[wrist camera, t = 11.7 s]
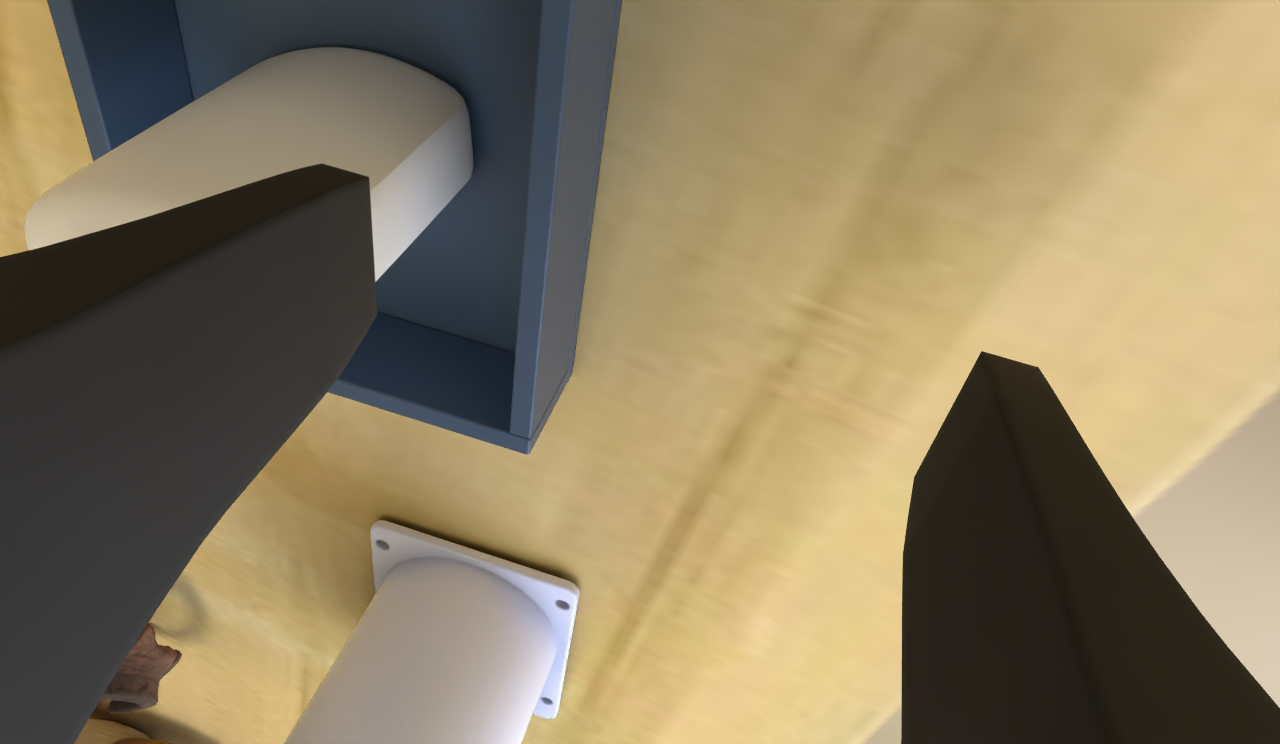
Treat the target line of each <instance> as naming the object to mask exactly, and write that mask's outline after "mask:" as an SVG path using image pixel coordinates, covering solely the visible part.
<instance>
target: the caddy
mask: <svg viewBox="0 0 1280 744" xmlns="http://www.w3.org/2000/svg"><path fill="white" fill-rule="evenodd" d="M47 1H48V5H49V8H50V12H51V15H52V19H53V22H54V26H55V29H56V33H57V36H58V40H59V43H60V47H61V50H62V54H63V57H64V61H65V64H66V67H67V71H68V74H69V78H70V81H71V85H72V88H73V92H74V95H75V99H76V102H77V106H78V109H79V113H80V116H81V120H82V123H83V127H84V130H85V134H86V137H87V141H88V144H89V148H90V151H91V155H92V158H93V161H95V160H97V159H98V158H100V157H102V156H103V155H105V154H107V153H108V152H110V151H112V150H113V149H115V148H117V147H118V146H120V145H122V144H123V143H125V142H127V141H128V140H130V139H132V138H133V137H135V136H137V135H138V134H140V133H142V132H143V131H145V130H147V129H148V128H150V127H152V126H153V125H155V124H157V123H158V122H160V121H161V120H163V119H165V118H167V117H168V116H170V115H172V114H173V113H175V112H177V111H178V110H180V109H182V108H183V107H185V106H187V105H188V104H190V103H192V102H193V101H195V100H197V99H199V98H200V97H202V96H204V95H205V94H207V93H209V92H210V91H212V90H214V89H215V88H217V87H219V86H220V85H222V84H224V83H225V82H227V81H229V80H231V79H232V78H234V77H236V76H237V75H239V74H241V73H242V72H244V71H246V70H247V69H249V68H251V67H253V66H254V65H256V64H258V63H260V62H262V61H264V60H267V59H269V58H272V57H275V56H278V55H281V54H284V53H288V52H292V51H297V50H303V49H309V48H320V47H340V48H351V49H359V50H364V51H370V52H374V53H378V54H382V55H385V56H388V57H392V58H395V59H397V60H400V61H403V62H405V63H408V64H410V65H412V66H415V67H417V68H419V69H421V70H423V71H425V72H427V73H429V74H431V75H433V76H435V77H437V78H439V79H440V80H442V81H444V82H445V83H447V84H448V85H450V86H451V87H453V88H455V89H456V90H457V92H458V93H459V94H460V95H461V96H462V97H463V98H464V100H465V103H466V105H467V108H468V111H469V117H470V125H471V137H472V149H473V171H472V175H471V178H470V179H469V181H468V182H467V183H466V184H465V185H464V186H463V187H462V189H461V190H460V191H459V192H458V193H457V194H456V195H455V196H454V197H453V198H452V200H451V201H450V202H449V203H448V204H447V205H446V206H445V207H444V208H443V209H442V211H441V212H440V213H439V214H438V215H437V216H436V217H435V218H434V219H433V220H432V221H431V223H430V224H429V225H428V226H427V227H426V228H425V229H424V230H423V231H422V232H421V233H420V235H419V236H418V237H417V238H416V239H415V240H414V241H413V242H412V243H411V244H410V245H409V247H408V248H407V249H406V250H405V251H404V252H403V253H402V254H401V255H400V256H399V257H398V258H397V260H396V261H395V262H394V263H393V264H392V265H391V266H390V267H389V268H388V269H387V270H386V271H385V272H384V274H383V275H382V276H381V277H380V278H379V279H378V280H377V281H376V282H375V284H376V300H377V316H376V318H375V320H374V321H373V323H372V325H371V326H370V328H369V330H368V331H367V333H366V335H365V336H364V338H363V340H362V342H361V343H360V345H359V347H358V348H357V350H356V352H355V353H354V355H353V356H352V358H351V359H350V361H349V362H348V364H347V365H346V367H345V369H344V370H343V372H342V373H341V375H340V376H339V378H338V379H337V380H336V382H335V383H334V384H333V385H332V387H331V388H330V389H329V390H328V392H329V393H333V394H336V395H339V396H342V397H345V398H349V399H352V400H355V401H358V402H361V403H364V404H368V405H371V406H374V407H377V408H380V409H383V410H387V411H390V412H393V413H396V414H399V415H403V416H406V417H409V418H412V419H415V420H418V421H422V422H425V423H428V424H431V425H434V426H438V427H441V428H444V429H447V430H450V431H453V432H457V433H460V434H463V435H466V436H469V437H473V438H476V439H479V440H482V441H485V442H488V443H492V444H495V445H498V446H501V447H504V448H508V449H511V450H514V451H517V452H520V453H523V454H529V453H530V452H531V450H532V448H533V446H534V444H535V442H536V441H537V439H538V437H539V435H540V433H541V431H542V429H543V427H544V425H545V423H546V422H547V420H548V418H549V416H550V414H551V412H552V410H553V408H554V406H555V405H556V403H557V401H558V399H559V397H560V395H561V393H562V391H563V389H564V388H565V386H566V383H567V382H568V380H569V378H570V377H571V375H572V371H573V363H574V356H575V348H576V341H577V333H578V326H579V318H580V311H581V303H582V296H583V288H584V281H585V273H586V266H587V258H588V251H589V244H590V236H591V229H592V221H593V214H594V206H595V199H596V191H597V184H598V176H599V169H600V161H601V154H602V146H603V139H604V131H605V124H606V117H607V109H608V102H609V94H610V87H611V79H612V72H613V64H614V57H615V49H616V42H617V34H618V27H619V19H620V12H621V4H622V0H47Z"/></svg>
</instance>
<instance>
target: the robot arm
mask: <svg viewBox="0 0 1280 744" xmlns="http://www.w3.org/2000/svg"><path fill="white" fill-rule="evenodd" d="M376 316H377V300H376V284H375V267H374V250H373V233H372V216H371V199H370V182H369V177H368V176H364V175H361V174H357V173H354V172H350V171H347V170H343V169H340V168H336V167H333V166H329V165H326V164H322V163H321V164H317V165H312V166H308V167H303V168H300V169H296V170H292V171H289V172H285V173H282V174H278V175H275V176H272V177H269V178H265V179H262V180H259V181H256V182H253V183H250V184H247V185H244V186H240V187H237V188H234V189H231V190H228V191H225V192H222V193H219V194H216V195H213V196H210V197H207V198H204V199H201V200H198V201H195V202H192V203H188V204H185V205H182V206H179V207H176V208H173V209H170V210H167V211H164V212H161V213H158V214H155V215H152V216H148V217H145V218H142V219H139V220H135V221H132V222H128V223H125V224H121V225H118V226H114V227H111V228H107V229H104V230H100V231H97V232H93V233H90V234H86V235H83V236H80V237H76V238H73V239H69V240H66V241H62V242H59V243H55V244H52V245H48V246H45V247H41V248H37V249H33V250H29V251H25V252H21V253H17V254H13V255H9V256H4V257H0V744H74V743H75V741H76V740H77V738H78V736H79V735H80V733H81V731H82V729H83V728H84V726H85V724H86V723H87V721H88V719H89V718H90V716H91V714H92V712H93V711H94V709H95V707H96V706H97V704H98V702H99V701H100V699H101V697H102V695H103V694H104V692H105V690H106V689H107V687H108V685H109V684H110V682H111V680H112V679H113V677H114V676H115V674H116V673H117V671H118V669H119V668H120V666H121V665H122V663H123V662H124V660H125V658H126V657H127V655H128V654H129V652H130V651H131V649H132V647H133V646H134V644H135V643H136V641H137V640H138V638H139V636H140V635H141V633H142V632H143V630H144V628H145V627H146V625H147V624H148V622H149V621H150V619H151V617H152V616H153V614H154V613H155V611H156V610H157V608H158V607H159V605H160V604H161V602H162V601H163V599H164V598H165V596H166V595H167V593H168V592H169V590H170V589H171V588H172V586H173V585H174V583H175V582H176V580H177V579H178V577H179V576H180V574H181V573H182V571H183V570H184V568H185V567H186V565H187V564H188V562H189V561H190V559H191V558H192V557H193V555H194V554H195V552H196V551H197V549H198V548H199V546H200V545H201V543H202V542H203V541H204V539H205V538H206V537H207V535H208V534H209V533H210V532H211V530H212V529H213V528H214V526H215V525H216V524H217V523H218V521H219V520H220V519H221V517H222V516H223V515H224V514H225V512H226V511H227V510H228V509H229V507H230V506H231V505H232V504H233V503H234V502H235V500H236V499H237V498H238V497H239V496H240V495H241V493H242V492H243V491H244V490H245V489H246V487H247V486H248V485H249V484H250V483H251V482H252V480H253V479H254V478H255V477H256V476H257V475H258V473H259V472H260V471H261V470H262V469H263V468H264V466H265V465H266V464H267V463H268V462H269V460H270V459H271V458H272V457H273V456H274V455H275V453H276V452H277V451H278V450H279V449H280V448H281V446H282V445H283V444H284V443H285V442H286V441H287V439H288V438H289V437H290V436H291V435H292V433H293V432H294V431H295V430H296V429H297V428H298V426H299V425H300V424H301V423H302V422H303V420H304V419H305V418H306V417H307V416H308V414H309V413H310V412H311V411H312V410H313V408H314V407H315V406H316V405H317V404H318V402H319V401H320V400H321V399H322V398H323V396H324V395H325V394H326V393H327V392H328V390H329V389H330V388H331V387H332V385H333V384H334V383H335V382H336V380H337V379H338V378H339V376H340V375H341V373H342V372H343V370H344V369H345V367H346V365H347V364H348V362H349V361H350V359H351V358H352V356H353V355H354V353H355V352H356V350H357V348H358V347H359V345H360V343H361V342H362V340H363V338H364V336H365V335H366V333H367V331H368V330H369V328H370V326H371V325H372V323H373V321H374V320H375V318H376ZM370 537H371V549H372V561H373V573H374V585H375V596H374V598H373V599H372V601H371V602H370V604H369V606H368V607H367V609H366V611H365V612H364V614H363V615H362V617H361V619H360V620H359V622H358V624H357V625H356V627H355V628H354V630H353V632H352V633H351V635H350V637H349V638H348V640H347V642H346V643H345V645H344V646H343V648H342V650H341V651H340V653H339V655H338V656H337V658H336V659H335V661H334V663H333V664H332V666H331V668H330V669H329V671H328V673H327V674H326V676H325V677H324V679H323V681H322V682H321V684H320V686H319V687H318V689H317V690H316V692H315V694H314V695H313V697H312V699H311V700H310V702H309V704H308V705H307V707H306V708H305V710H304V712H303V713H302V715H301V717H300V718H299V720H298V721H297V723H296V725H295V726H294V728H293V730H292V731H291V733H290V734H289V736H288V738H287V739H286V741H285V743H284V744H521V742H522V739H523V737H524V734H525V732H526V729H527V727H528V724H529V722H530V719H531V717H532V714H534V715H536V716H539V717H542V718H546V719H553V718H555V717H556V715H557V712H558V710H559V705H560V699H561V694H562V688H563V683H564V677H565V672H566V666H567V661H568V655H569V650H570V644H571V639H572V633H573V628H574V622H575V617H576V611H577V606H578V600H579V595H580V591H579V589H578V587H577V586H576V585H575V584H574V583H572V582H570V581H568V580H565V579H562V578H559V577H556V576H553V575H550V574H547V573H544V572H541V571H538V570H535V569H532V568H529V567H525V566H522V565H519V564H516V563H513V562H510V561H507V560H504V559H501V558H498V557H495V556H492V555H489V554H486V553H483V552H480V551H477V550H474V549H471V548H468V547H465V546H462V545H459V544H455V543H452V542H449V541H446V540H443V539H440V538H437V537H434V536H431V535H428V534H425V533H422V532H419V531H416V530H413V529H410V528H407V527H404V526H401V525H398V524H395V523H392V522H389V521H385V520H379V521H376V522H375V523H374V524H373V526H372V527H371V530H370ZM901 744H1280V708H1279V707H1278V706H1277V705H1276V703H1275V702H1274V701H1273V700H1272V699H1271V697H1270V696H1269V695H1268V694H1267V693H1266V691H1265V690H1264V689H1263V688H1262V687H1261V686H1260V684H1259V683H1258V682H1257V681H1256V680H1255V678H1254V677H1253V676H1252V675H1251V674H1250V673H1249V671H1248V670H1247V669H1246V668H1245V667H1244V665H1243V664H1242V663H1241V662H1240V661H1239V660H1238V658H1237V657H1236V656H1235V655H1234V654H1233V652H1232V651H1231V650H1230V649H1229V648H1228V647H1227V645H1226V644H1225V643H1224V642H1223V640H1222V639H1221V638H1220V637H1219V635H1218V634H1217V633H1216V632H1215V630H1214V629H1213V628H1212V627H1211V625H1210V624H1209V623H1208V621H1207V620H1206V619H1205V618H1204V616H1203V615H1202V614H1201V613H1200V611H1199V610H1198V609H1197V607H1196V606H1195V604H1194V603H1193V602H1192V600H1191V599H1190V598H1189V596H1188V595H1187V594H1186V592H1185V591H1184V590H1183V588H1182V587H1181V585H1180V584H1179V583H1178V581H1177V580H1176V579H1175V577H1174V576H1173V575H1172V573H1171V572H1170V570H1169V569H1168V568H1167V566H1166V565H1165V564H1164V562H1163V561H1162V560H1161V558H1160V557H1159V556H1158V554H1157V553H1156V551H1155V550H1154V548H1153V547H1152V545H1151V544H1150V542H1149V541H1148V539H1147V538H1146V537H1145V535H1144V534H1143V533H1142V531H1141V530H1140V528H1139V526H1138V525H1137V523H1136V522H1135V521H1134V519H1133V517H1132V516H1131V514H1130V513H1129V511H1128V510H1127V508H1126V507H1125V505H1124V504H1123V502H1122V501H1121V499H1120V498H1119V496H1118V495H1117V493H1116V491H1115V490H1114V488H1113V487H1112V485H1111V484H1110V482H1109V481H1108V479H1107V477H1106V476H1105V474H1104V473H1103V471H1102V469H1101V468H1100V466H1099V465H1098V463H1097V461H1096V460H1095V458H1094V457H1093V455H1092V453H1091V452H1090V450H1089V448H1088V447H1087V445H1086V444H1085V442H1084V440H1083V439H1082V437H1081V435H1080V434H1079V432H1078V430H1077V429H1076V427H1075V426H1074V424H1073V422H1072V421H1071V419H1070V417H1069V416H1068V414H1067V412H1066V411H1065V409H1064V407H1063V406H1062V404H1061V402H1060V401H1059V399H1058V397H1057V396H1056V394H1055V393H1054V391H1053V389H1052V388H1051V386H1050V385H1049V383H1048V381H1047V380H1046V378H1045V377H1044V375H1043V374H1042V372H1041V371H1040V369H1039V368H1038V367H1035V366H1031V365H1028V364H1024V363H1021V362H1017V361H1014V360H1010V359H1007V358H1003V357H1000V356H996V355H993V354H989V353H986V352H981V353H980V355H979V357H978V359H977V361H976V363H975V365H974V367H973V368H972V370H971V372H970V374H969V376H968V378H967V380H966V381H965V383H964V385H963V387H962V389H961V391H960V393H959V395H958V396H957V398H956V400H955V402H954V404H953V406H952V408H951V410H950V411H949V413H948V415H947V417H946V419H945V421H944V423H943V424H942V426H941V428H940V430H939V432H938V434H937V436H936V438H935V439H934V441H933V443H932V445H931V447H930V449H929V451H928V453H927V454H926V456H925V458H924V460H923V462H922V464H921V466H920V467H919V469H918V471H917V473H916V475H915V477H914V483H913V489H912V495H911V502H910V508H909V515H908V521H907V529H906V536H905V544H904V551H903V587H902V740H901Z"/></svg>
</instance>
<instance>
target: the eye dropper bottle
mask: <svg viewBox="0 0 1280 744" xmlns="http://www.w3.org/2000/svg"><path fill="white" fill-rule="evenodd" d="M321 163H322V164H326V165H329V166H333V167H336V168H340V169H343V170H347V171H350V172H354V173H357V174H361V175H364V176H368V177H369V182H370V199H371V216H372V233H373V250H374V267H375V282H376V281H377V280H378V279H379V278H380V277H381V276H382V275H383V274H384V272H385V271H386V270H387V269H388V268H389V267H390V266H391V265H392V264H393V263H394V262H395V261H396V260H397V258H398V257H399V256H400V255H401V254H402V253H403V252H404V251H405V250H406V249H407V248H408V247H409V245H410V244H411V243H412V242H413V241H414V240H415V239H416V238H417V237H418V236H419V235H420V233H421V232H422V231H423V230H424V229H425V228H426V227H427V226H428V225H429V224H430V223H431V221H432V220H433V219H434V218H435V217H436V216H437V215H438V214H439V213H440V212H441V211H442V209H443V208H444V207H445V206H446V205H447V204H448V203H449V202H450V201H451V200H452V198H453V197H454V196H455V195H456V194H457V193H458V192H459V191H460V190H461V189H462V187H463V186H464V185H465V184H466V183H467V182H468V181H469V179H470V178H471V175H472V171H473V149H472V137H471V125H470V117H469V111H468V108H467V105H466V103H465V100H464V98H463V97H462V96H461V95H460V94H459V93H458V92H457V90H456V89H455V88H453V87H451V86H450V85H448V84H447V83H445V82H444V81H442V80H440V79H439V78H437V77H435V76H433V75H431V74H429V73H427V72H425V71H423V70H421V69H419V68H417V67H415V66H412V65H410V64H408V63H405V62H403V61H400V60H397V59H395V58H392V57H388V56H385V55H382V54H378V53H374V52H370V51H364V50H359V49H351V48H340V47H320V48H309V49H303V50H297V51H292V52H288V53H284V54H281V55H278V56H275V57H272V58H269V59H267V60H264V61H262V62H260V63H258V64H256V65H254V66H253V67H251V68H249V69H247V70H246V71H244V72H242V73H241V74H239V75H237V76H236V77H234V78H232V79H231V80H229V81H227V82H225V83H224V84H222V85H220V86H219V87H217V88H215V89H214V90H212V91H210V92H209V93H207V94H205V95H204V96H202V97H200V98H199V99H197V100H195V101H193V102H192V103H190V104H188V105H187V106H185V107H183V108H182V109H180V110H178V111H177V112H175V113H173V114H172V115H170V116H168V117H167V118H165V119H163V120H161V121H160V122H158V123H157V124H155V125H153V126H152V127H150V128H148V129H147V130H145V131H143V132H142V133H140V134H138V135H137V136H135V137H133V138H132V139H130V140H128V141H127V142H125V143H123V144H122V145H120V146H118V147H117V148H115V149H113V150H112V151H110V152H108V153H107V154H105V155H103V156H102V157H100V158H98V159H97V160H95V161H93V162H92V163H90V164H88V165H87V166H85V167H84V168H82V169H81V170H79V171H77V172H76V173H74V174H73V175H71V176H70V177H68V178H66V179H65V180H63V181H62V182H60V183H59V184H57V185H55V186H54V187H52V188H51V189H49V190H48V191H47V192H45V193H44V194H43V195H42V196H40V197H39V198H38V199H37V200H36V201H35V202H34V204H33V205H32V206H31V208H30V210H29V211H28V213H27V215H26V218H25V221H24V230H25V239H26V243H27V246H28V249H29V250H33V249H37V248H41V247H45V246H48V245H52V244H55V243H59V242H62V241H66V240H69V239H73V238H76V237H80V236H83V235H86V234H90V233H93V232H97V231H100V230H104V229H107V228H111V227H114V226H118V225H121V224H125V223H128V222H132V221H135V220H139V219H142V218H145V217H148V216H152V215H155V214H158V213H161V212H164V211H167V210H170V209H173V208H176V207H179V206H182V205H185V204H188V203H192V202H195V201H198V200H201V199H204V198H207V197H210V196H213V195H216V194H219V193H222V192H225V191H228V190H231V189H234V188H237V187H240V186H244V185H247V184H250V183H253V182H256V181H259V180H262V179H265V178H269V177H272V176H275V175H278V174H282V173H285V172H289V171H292V170H296V169H300V168H303V167H308V166H312V165H317V164H321Z"/></svg>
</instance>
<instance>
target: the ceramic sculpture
mask: <svg viewBox="0 0 1280 744" xmlns="http://www.w3.org/2000/svg"><path fill="white" fill-rule="evenodd" d="M74 744H172V743H170V742H165V741H161V740H153V739H150V738H149V737H148V736H147V735H146V734H144V733H142V732H140V731H138V730H136V729H134V728H131V727H129V726H126V725H123V724H120V723H117V722H114V721H108V720H96V719H88V721H87V723H86V724H85V726H84V728H83V729H82V731H81V733H80V735H79V736H78V738H77V740H76V741H75V743H74Z"/></svg>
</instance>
